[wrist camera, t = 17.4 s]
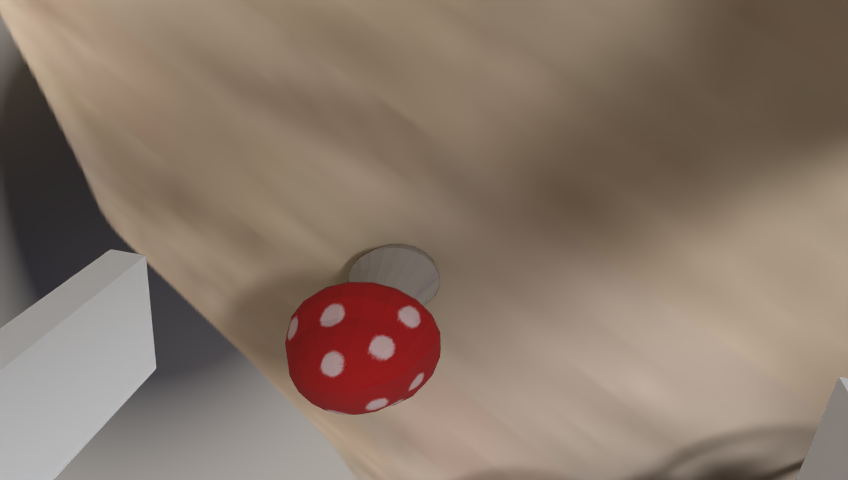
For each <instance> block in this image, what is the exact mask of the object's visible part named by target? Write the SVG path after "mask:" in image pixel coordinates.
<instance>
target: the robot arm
mask: <svg viewBox="0 0 848 480" xmlns="http://www.w3.org/2000/svg"><path fill="white" fill-rule="evenodd" d="M155 369H156V360H155V349H154V339H153V328H152V318H151V308H150V297H149V286H148V275H147V265H146V256H145V255H140V254H134V253H128V252H122V251H117V250H109V251H108V252H106V253H105V254H104V255H102V256H101V257H99V258H98V259H96V260H95V261H94V262H92V263H91V264H90V265H88V266H87V267H85V268H84V269H83V270H81V271H80V272H78V273H77V274H75V275H74V276H73V277H71V278H70V279H69V280H67V281H66V282H64V283H63V284H62V285H60V286H59V287H57V288H56V289H55V290H53V291H52V292H50V293H49V294H48V295H46V296H45V297H43V298H42V299H41V300H39V301H38V302H36V303H35V304H34V305H32V306H31V307H29V308H28V309H27V310H25V311H24V312H22V313H21V314H20V315H18V316H17V317H15V318H14V319H13V320H11V321H10V322H9V323H7V324H6V325H4V326H3V327H2V328H0V480H54V479H55V477H56V476H57V475H58V474H59V473H60V472H61V471H62V470H63V469H64V468H65V467H66V465H68V463H69V462H70V461H71V460H72V459H73V458H74V457H75V456H76V455H77V454H78V452H80V450H81V449H82V448H83V447H84V446H85V445H86V444H87V443H88V442H89V441H90V440H91V438H92V437H93V436H94V435H95V434H96V433H97V432H98V431H99V430H100V429H101V428H102V427H103V426H104V424H105V423H106V422H107V421H108V420H109V419H110V418H111V417H112V416H113V415H114V414H115V413H116V412H117V410H118V409H119V408H120V407H121V406H122V405H123V404H124V403H125V402H126V401H127V400H128V399H129V397H130V396H131V395H132V394H133V393H134V392H135V391H136V390H137V389H138V388H139V386H141V384H142V383H143V382H144V381H145V380H146V379H147V378H148V377H149V376H150V375H151V374H152V373H153V371H154V370H155ZM796 480H848V378H842V377H839V378H838V381H837V383H836V385H835V388H834V390H833V393H832V395H831V397H830V400H829V402H828V404H827V407H826V409H825V412H824V414H823V416H822V419H821V421H820V423H819V426H818V428H817V431H816V433H815V435H814V438H813V440H812V443H811V445H810V447H809V450H808V452H807V454H806V457H805V459H804V462H803V464H802V466H801V469H800V471H799V473H798V476H797V478H796Z"/></svg>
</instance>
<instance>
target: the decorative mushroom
mask: <svg viewBox="0 0 848 480" xmlns="http://www.w3.org/2000/svg"><path fill="white" fill-rule="evenodd" d="M438 288H439V274H438V271H437V269H436V267H435V264H434V262H433V260H432V259H431V258H430V257H429V256H428V255H427V254H426V253H425V252H423V251H421V250H419V249H417V248H415V247H412V246H408V245H403V244H390V245H386V246H382V247H379V248H377V249H375V250H373V251H371V252H369V253H367V254H365V255H364V256H362V257H360V258H359V259H358V260H357V261H356V263H355V264H354V265H353V266H352V268H351V271H350V274H349V282H347V283H343V284H339V285H335V286H330V287H326V288H325V289H323V290H321V291H320V292H318V293H316V294H315V295H313V296H311V297H310V298H308V299H306V300H305V301H304V302H303V303H302V304H301V305H300V307H299V308H298V309H297V310H296V312H295V313H294V314H293V315H292V318H291V321H290V325H289V328H288V332H287V337H286V342H285V345H286V352H287V359H288V366H289V374H290V377H291V379H292V381H293V383H294V384H295V386H296V388H297V390H298V391H299V392H300V393H301V394H302V395H303V396H304V397H305V398H306V399H307V400H308V401H310V402H311V403H312V404H314V405H316V406H318V407H320V408H322V409H324V410H326V411H330V412H334V413H338V414H352V415H357V414H364V413H370V412H376V411H378V410H380V409H383V408H385V407H387V406H392V405H395V404H398V403H400V402H402V401H404V400H406V399H408V398H410V397H412V396H413V395H414V394H415V393H416V392H417V391H418V390H419V389H420V388H421V387H422V386H423V385H424V384H425V383H426V382H427V380H428V379H429V378H430V377H431V376H432V375H433V373H434V370H435V368H436V365H437V363H438V360H439V358H440V331H439V329H438V327H437V325H436V323H435V321H434V318H433V316H432V315H431V314H430V313H429V312H428V311H427V310H426V309H425V308H424V305H425V304H427V303H428V302H429V301H430V300H431V299H432V298H433V297H434V296H435V294H436V292H437V290H438Z"/></svg>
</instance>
